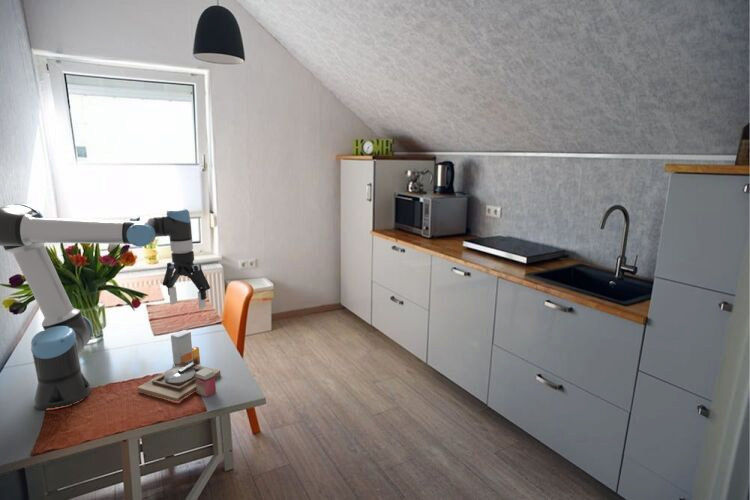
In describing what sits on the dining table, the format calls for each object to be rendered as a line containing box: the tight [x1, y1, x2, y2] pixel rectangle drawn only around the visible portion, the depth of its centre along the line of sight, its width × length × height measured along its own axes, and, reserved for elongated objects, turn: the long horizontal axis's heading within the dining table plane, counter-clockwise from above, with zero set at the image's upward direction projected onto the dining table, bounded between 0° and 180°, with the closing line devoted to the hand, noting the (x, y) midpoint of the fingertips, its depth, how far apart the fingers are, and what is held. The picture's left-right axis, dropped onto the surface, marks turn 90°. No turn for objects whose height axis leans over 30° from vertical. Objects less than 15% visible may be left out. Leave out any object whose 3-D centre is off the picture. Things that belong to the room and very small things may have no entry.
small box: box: [195, 367, 217, 398], centre depth 148 cm, size 5×4×8 cm
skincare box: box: [170, 329, 193, 365], centre depth 170 cm, size 6×4×12 cm
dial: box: [164, 346, 201, 386], centre depth 155 cm, size 14×10×8 cm
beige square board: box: [137, 362, 221, 401], centre depth 155 cm, size 20×18×3 cm
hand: (188, 305), depth 165 cm, fingers open, 13 cm apart
